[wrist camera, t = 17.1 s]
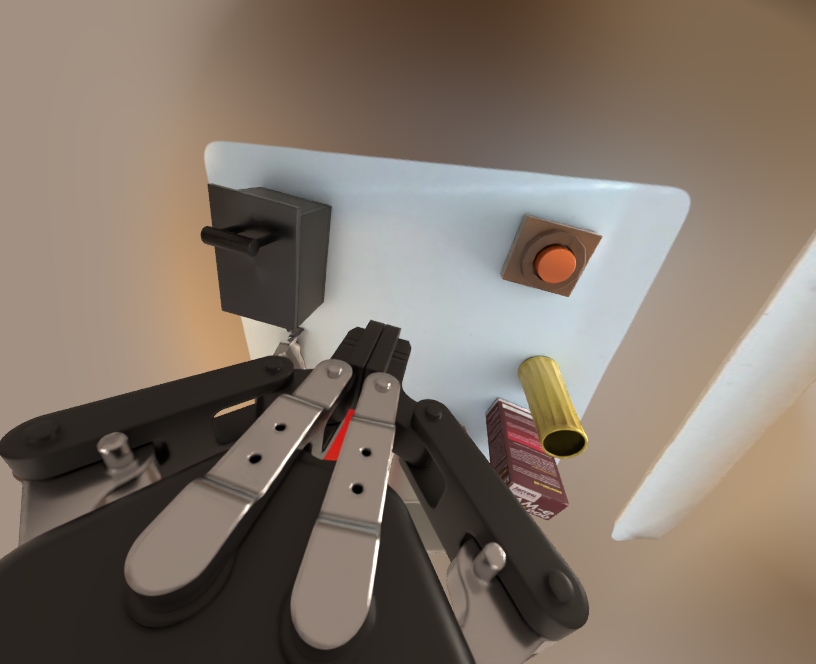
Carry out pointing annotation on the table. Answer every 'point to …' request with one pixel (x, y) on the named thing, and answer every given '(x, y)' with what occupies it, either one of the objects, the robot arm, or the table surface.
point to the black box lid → (255, 255)
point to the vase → (552, 408)
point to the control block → (535, 239)
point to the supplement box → (523, 460)
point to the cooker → (307, 248)
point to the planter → (414, 507)
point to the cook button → (555, 264)
